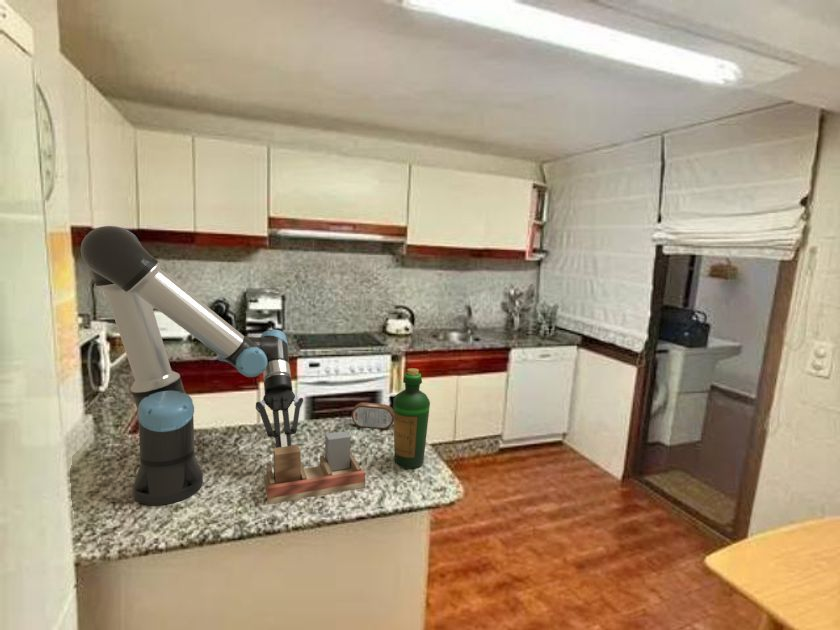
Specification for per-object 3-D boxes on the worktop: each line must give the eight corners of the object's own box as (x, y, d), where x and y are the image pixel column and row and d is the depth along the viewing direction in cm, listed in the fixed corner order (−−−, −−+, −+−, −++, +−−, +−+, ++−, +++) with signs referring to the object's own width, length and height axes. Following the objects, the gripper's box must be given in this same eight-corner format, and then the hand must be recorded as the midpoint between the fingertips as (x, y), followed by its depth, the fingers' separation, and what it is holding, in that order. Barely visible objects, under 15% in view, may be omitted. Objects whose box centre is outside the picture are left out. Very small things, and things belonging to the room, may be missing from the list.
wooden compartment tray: (268, 504, 108) (268, 486, 107) (263, 480, 118) (263, 463, 118) (364, 487, 117) (365, 471, 117) (352, 466, 128) (353, 451, 127)
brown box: (275, 489, 111) (275, 455, 110) (273, 480, 115) (273, 447, 114) (300, 485, 113) (300, 451, 112) (297, 476, 117) (297, 443, 116)
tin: (394, 427, 157) (395, 404, 156) (393, 431, 154) (394, 407, 153) (352, 423, 159) (353, 400, 157) (350, 427, 156) (350, 403, 154)
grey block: (327, 471, 121) (328, 439, 119) (324, 463, 125) (324, 432, 124) (349, 468, 123) (350, 436, 122) (345, 460, 127) (346, 430, 126)
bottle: (386, 456, 135) (389, 365, 131) (419, 452, 139) (423, 364, 135) (396, 473, 125) (401, 376, 121) (432, 468, 129) (437, 373, 125)
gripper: (299, 384, 135) (308, 461, 122) (252, 387, 129) (257, 469, 117) (302, 371, 129) (312, 451, 117) (253, 374, 124) (259, 458, 111)
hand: (285, 460), depth 117 cm, fingers closed
